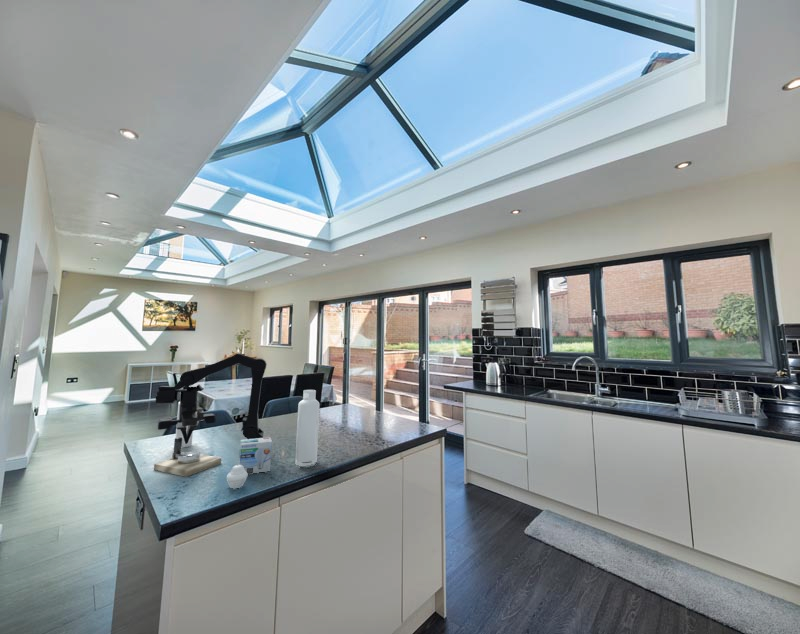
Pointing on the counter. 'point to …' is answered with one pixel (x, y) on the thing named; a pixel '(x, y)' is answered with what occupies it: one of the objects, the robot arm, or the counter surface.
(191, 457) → the capstan dial
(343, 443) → the counter surface
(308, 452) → the bottle
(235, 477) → the muffin
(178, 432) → the milk
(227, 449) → the counter surface
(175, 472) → the dial base plate
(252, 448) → the light bulb box
